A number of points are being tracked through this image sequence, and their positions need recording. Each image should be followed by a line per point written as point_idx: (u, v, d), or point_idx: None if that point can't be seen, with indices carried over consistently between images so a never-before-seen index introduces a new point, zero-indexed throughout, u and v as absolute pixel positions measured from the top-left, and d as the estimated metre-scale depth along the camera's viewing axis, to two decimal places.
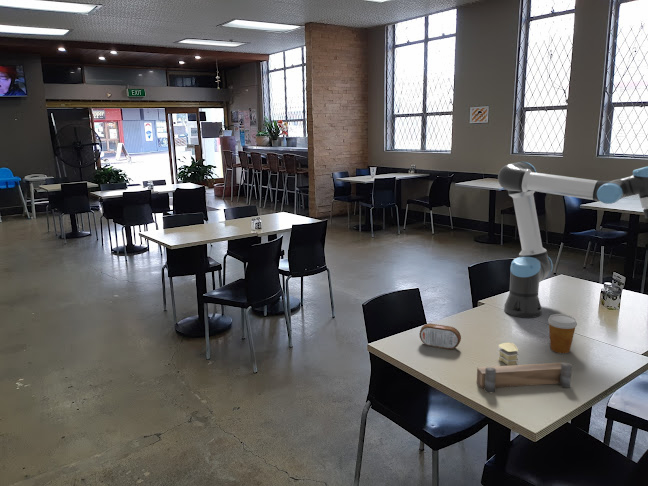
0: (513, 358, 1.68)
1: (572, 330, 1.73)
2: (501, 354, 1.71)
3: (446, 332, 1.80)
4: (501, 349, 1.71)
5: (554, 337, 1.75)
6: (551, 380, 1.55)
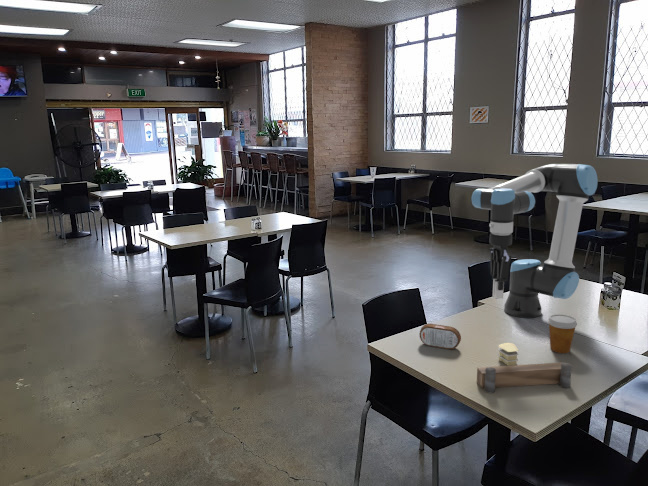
0: (513, 358, 1.68)
1: (572, 330, 1.73)
2: (501, 354, 1.71)
3: (446, 332, 1.80)
4: (501, 349, 1.71)
5: (554, 337, 1.75)
6: (551, 380, 1.55)
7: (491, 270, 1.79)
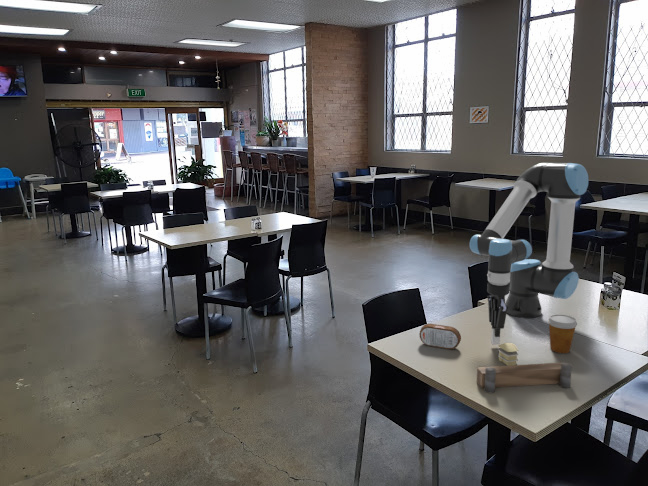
0: (513, 358, 1.68)
1: (572, 330, 1.73)
2: (501, 354, 1.70)
3: (446, 332, 1.80)
4: (501, 349, 1.71)
5: (554, 337, 1.75)
6: (551, 380, 1.55)
7: (489, 317, 1.83)
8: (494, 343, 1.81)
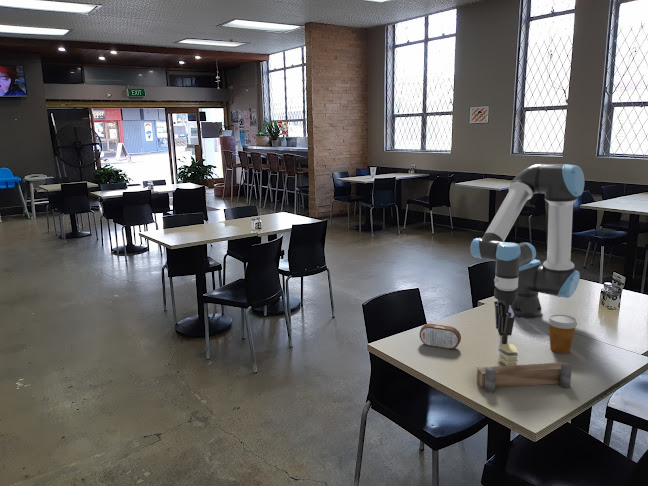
0: (513, 359, 1.67)
1: (572, 330, 1.73)
2: (501, 355, 1.70)
3: (446, 332, 1.80)
4: (501, 350, 1.70)
5: (554, 337, 1.75)
6: (551, 380, 1.55)
7: (496, 324, 1.76)
8: None
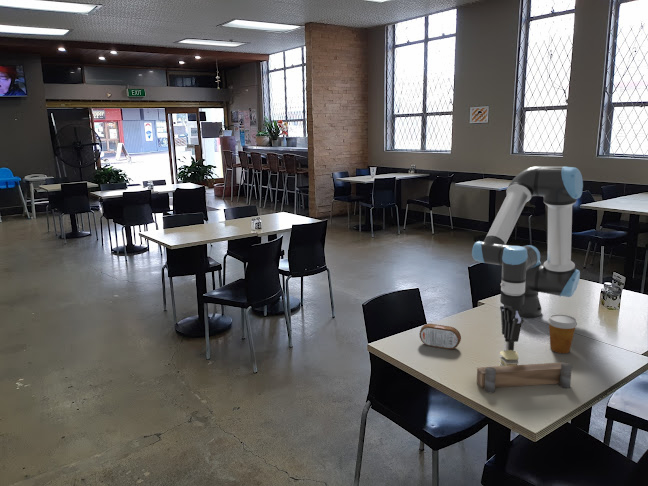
0: None
1: (572, 330, 1.73)
2: (501, 361, 1.65)
3: (446, 332, 1.80)
4: (502, 356, 1.66)
5: (554, 337, 1.75)
6: (551, 380, 1.55)
7: (502, 329, 1.71)
8: None
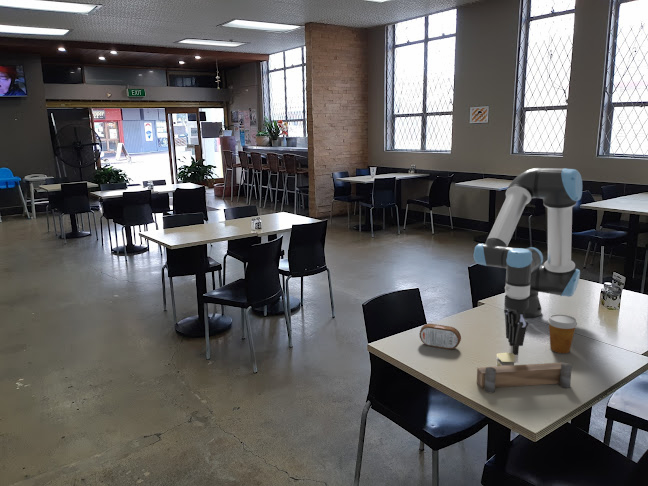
0: None
1: (572, 330, 1.73)
2: (498, 363, 1.64)
3: (446, 332, 1.80)
4: (499, 358, 1.64)
5: (554, 337, 1.75)
6: (551, 380, 1.55)
7: (507, 333, 1.68)
8: None
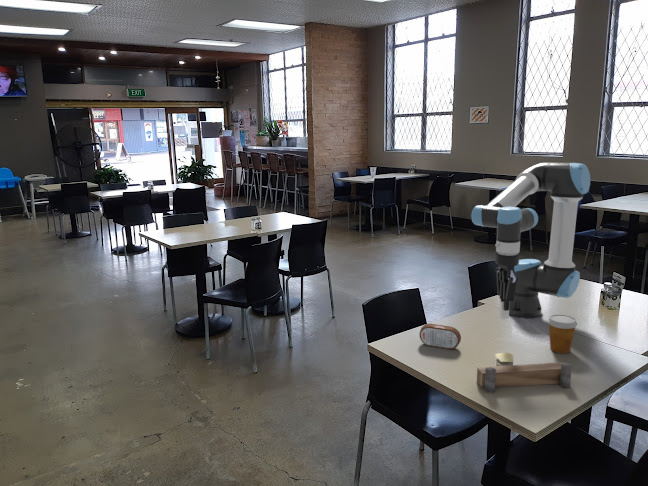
0: None
1: (572, 330, 1.73)
2: (497, 363, 1.64)
3: (446, 332, 1.80)
4: (498, 358, 1.64)
5: (554, 337, 1.75)
6: (551, 380, 1.55)
7: (498, 290, 1.74)
8: (503, 317, 1.72)
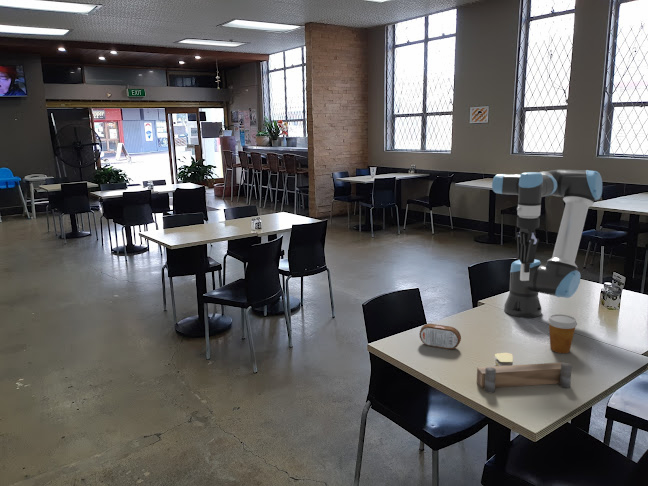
0: None
1: (572, 330, 1.73)
2: (496, 364, 1.64)
3: (446, 332, 1.80)
4: (497, 358, 1.64)
5: (554, 337, 1.75)
6: (551, 380, 1.55)
7: (518, 254, 1.81)
8: (523, 279, 1.79)
